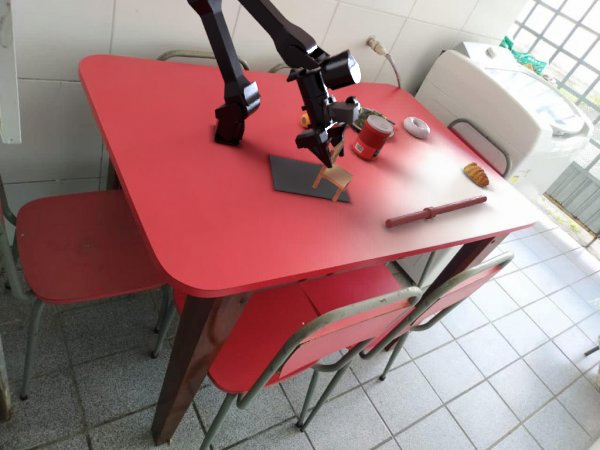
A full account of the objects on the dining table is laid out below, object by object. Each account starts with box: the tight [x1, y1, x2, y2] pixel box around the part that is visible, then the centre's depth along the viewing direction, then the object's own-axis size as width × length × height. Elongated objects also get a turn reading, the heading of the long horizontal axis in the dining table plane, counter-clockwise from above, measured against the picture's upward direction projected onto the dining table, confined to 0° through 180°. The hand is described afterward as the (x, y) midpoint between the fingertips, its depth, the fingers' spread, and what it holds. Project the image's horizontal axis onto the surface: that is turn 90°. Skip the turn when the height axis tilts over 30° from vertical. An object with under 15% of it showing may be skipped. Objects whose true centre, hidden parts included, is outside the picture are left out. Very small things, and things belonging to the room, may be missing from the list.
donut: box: [403, 116, 431, 139], centre depth 145 cm, size 10×4×10 cm
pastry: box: [463, 161, 490, 188], centre depth 137 cm, size 9×7×4 cm
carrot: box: [300, 113, 350, 129], centre depth 125 cm, size 20×4×4 cm, turn 122°
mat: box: [268, 154, 351, 203], centre depth 104 cm, size 20×13×1 cm, turn 100°
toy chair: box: [312, 139, 355, 203], centre depth 96 cm, size 7×7×12 cm
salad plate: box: [349, 101, 396, 138], centre depth 136 cm, size 19×18×5 cm
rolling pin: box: [384, 194, 488, 229], centre depth 114 cm, size 45×3×3 cm, turn 124°
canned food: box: [352, 115, 394, 162], centre depth 119 cm, size 8×8×11 cm
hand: (336, 162), depth 95 cm, fingers closed on toy chair, 6 cm apart
